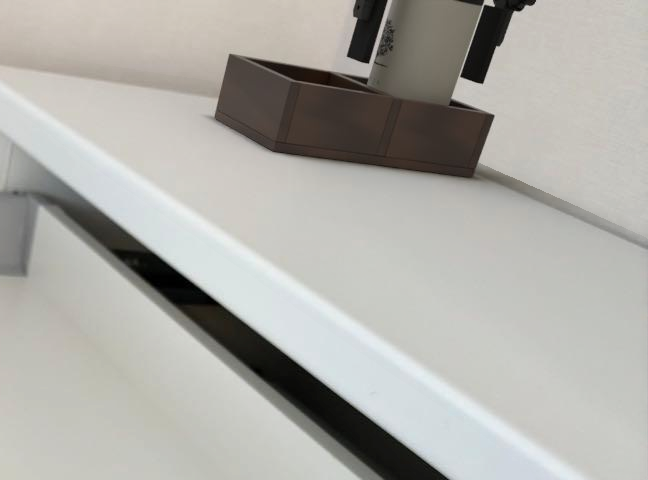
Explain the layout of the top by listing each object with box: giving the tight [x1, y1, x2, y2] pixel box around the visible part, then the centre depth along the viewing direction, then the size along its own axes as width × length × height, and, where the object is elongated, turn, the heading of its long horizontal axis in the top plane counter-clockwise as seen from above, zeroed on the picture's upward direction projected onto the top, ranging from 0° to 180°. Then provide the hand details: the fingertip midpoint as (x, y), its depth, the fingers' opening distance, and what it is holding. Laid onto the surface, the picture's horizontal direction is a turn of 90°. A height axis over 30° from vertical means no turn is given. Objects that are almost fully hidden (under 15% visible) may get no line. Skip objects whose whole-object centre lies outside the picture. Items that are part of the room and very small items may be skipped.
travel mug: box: [367, 0, 485, 106], centre depth 102 cm, size 8×8×18 cm
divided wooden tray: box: [213, 53, 496, 179], centre depth 103 cm, size 23×12×6 cm, turn 112°
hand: (415, 71), depth 103 cm, fingers open, 13 cm apart
